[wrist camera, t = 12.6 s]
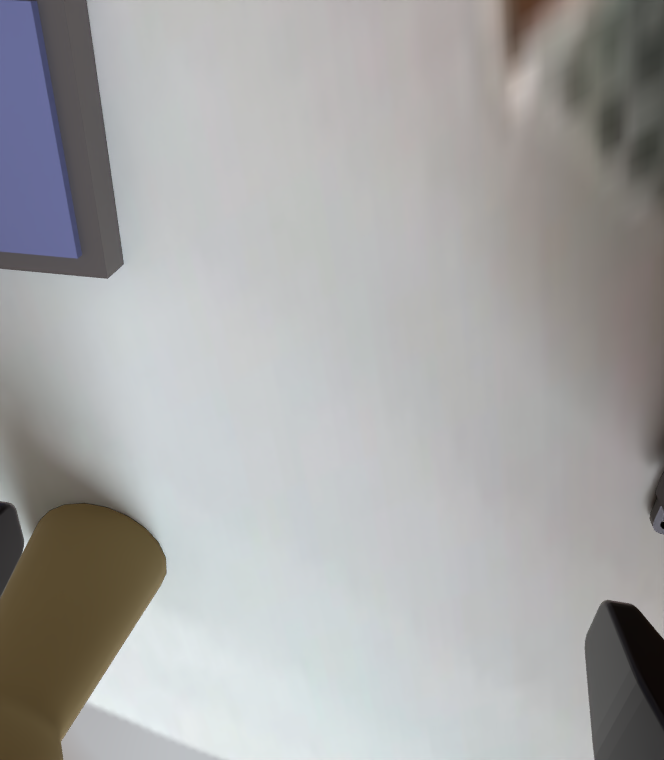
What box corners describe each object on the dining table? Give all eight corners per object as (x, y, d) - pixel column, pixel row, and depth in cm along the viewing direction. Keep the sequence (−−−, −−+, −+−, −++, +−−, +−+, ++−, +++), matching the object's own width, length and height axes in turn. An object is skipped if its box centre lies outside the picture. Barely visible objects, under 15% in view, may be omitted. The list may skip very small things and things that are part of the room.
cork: (9, 516, 28) (-203, 783, 18) (124, 491, 26) (-45, 772, 17) (81, 607, 30) (-71, 878, 21) (189, 589, 29) (76, 877, 19)
